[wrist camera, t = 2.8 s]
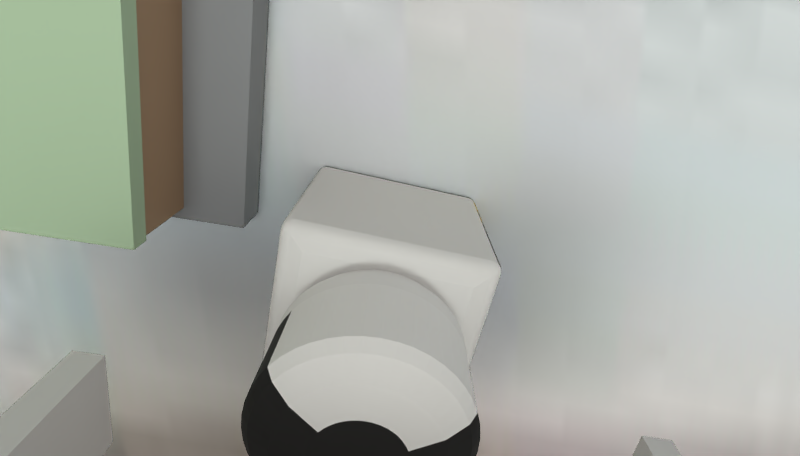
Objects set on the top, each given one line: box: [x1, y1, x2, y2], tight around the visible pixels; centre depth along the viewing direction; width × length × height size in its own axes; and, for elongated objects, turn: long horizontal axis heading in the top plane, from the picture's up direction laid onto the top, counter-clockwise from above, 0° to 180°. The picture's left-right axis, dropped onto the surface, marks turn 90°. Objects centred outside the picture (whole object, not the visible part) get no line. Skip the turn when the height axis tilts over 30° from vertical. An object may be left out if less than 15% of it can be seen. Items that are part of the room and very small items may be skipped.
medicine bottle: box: [241, 167, 501, 456], centre depth 17 cm, size 7×7×12 cm
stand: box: [0, 0, 269, 250], centre depth 16 cm, size 16×12×6 cm
